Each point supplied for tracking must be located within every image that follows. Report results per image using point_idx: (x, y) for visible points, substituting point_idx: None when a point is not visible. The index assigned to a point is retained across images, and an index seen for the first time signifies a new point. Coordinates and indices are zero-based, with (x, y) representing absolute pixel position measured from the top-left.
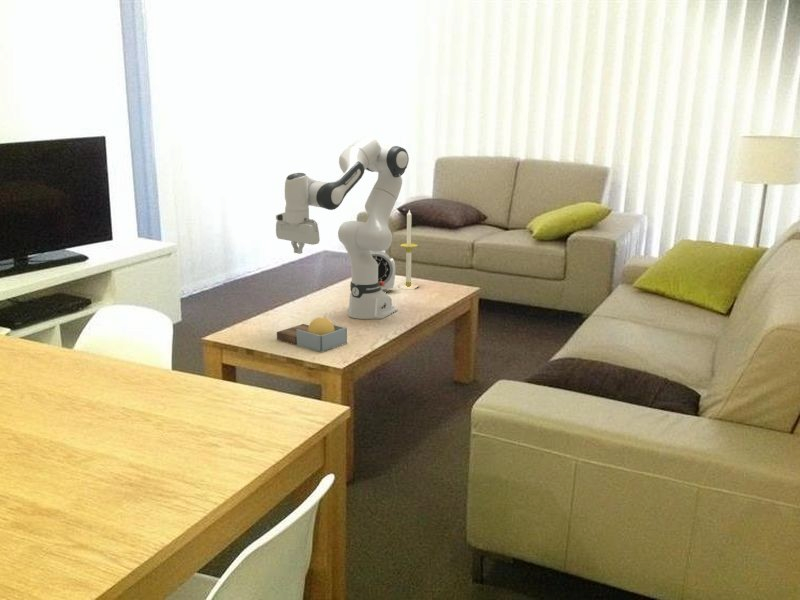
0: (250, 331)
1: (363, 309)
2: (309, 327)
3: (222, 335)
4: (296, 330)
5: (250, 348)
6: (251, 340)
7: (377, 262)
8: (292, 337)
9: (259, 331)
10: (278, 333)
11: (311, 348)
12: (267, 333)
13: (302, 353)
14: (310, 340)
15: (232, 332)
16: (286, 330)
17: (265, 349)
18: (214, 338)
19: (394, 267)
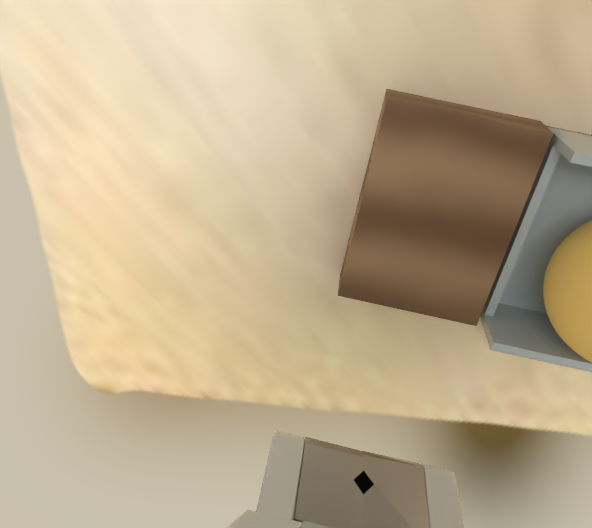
0: (142, 226)
1: None
2: (584, 357)
3: (88, 325)
4: (490, 346)
5: (311, 407)
6: (243, 329)
7: None
8: (454, 318)
9: (178, 206)
10: (350, 295)
11: None
12: (235, 215)
13: (558, 380)
14: None
15: (87, 274)
16: (369, 254)
17: (375, 396)
18: (95, 366)
19: None
